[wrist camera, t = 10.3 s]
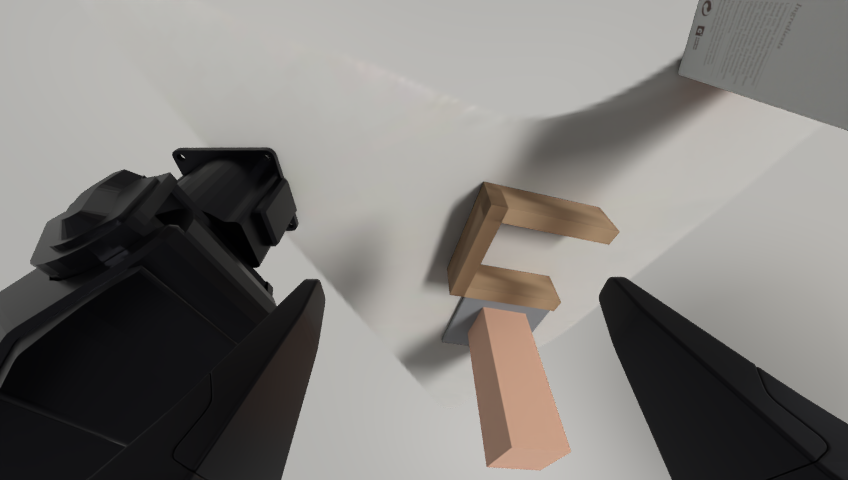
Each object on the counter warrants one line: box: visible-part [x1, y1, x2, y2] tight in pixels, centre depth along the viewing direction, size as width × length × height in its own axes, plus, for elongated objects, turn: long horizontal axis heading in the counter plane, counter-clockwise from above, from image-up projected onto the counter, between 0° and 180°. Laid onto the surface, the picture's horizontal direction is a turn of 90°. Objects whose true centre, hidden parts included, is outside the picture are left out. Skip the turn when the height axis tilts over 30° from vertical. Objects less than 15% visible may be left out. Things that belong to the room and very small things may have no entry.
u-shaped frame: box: [447, 182, 619, 311], centre depth 24 cm, size 10×9×3 cm
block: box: [468, 307, 571, 470], centre depth 27 cm, size 5×5×12 cm
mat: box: [442, 297, 550, 346], centre depth 32 cm, size 9×9×1 cm
